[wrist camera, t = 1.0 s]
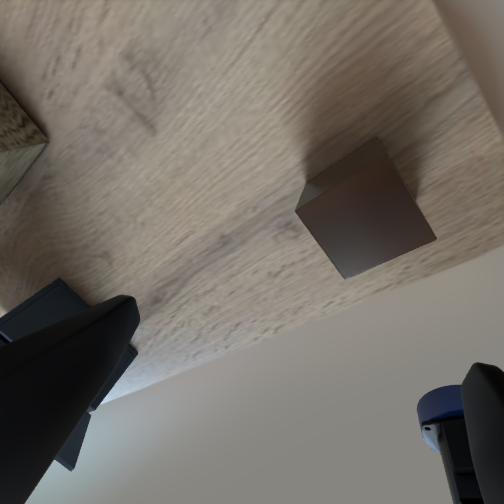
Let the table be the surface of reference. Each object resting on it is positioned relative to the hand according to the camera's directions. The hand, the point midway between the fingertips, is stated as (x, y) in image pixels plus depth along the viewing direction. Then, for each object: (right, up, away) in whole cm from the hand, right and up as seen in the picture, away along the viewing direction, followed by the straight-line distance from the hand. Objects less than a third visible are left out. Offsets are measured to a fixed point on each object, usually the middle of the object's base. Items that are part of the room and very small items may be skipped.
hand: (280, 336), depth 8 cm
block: (+5, +6, +9) cm, 12 cm away
